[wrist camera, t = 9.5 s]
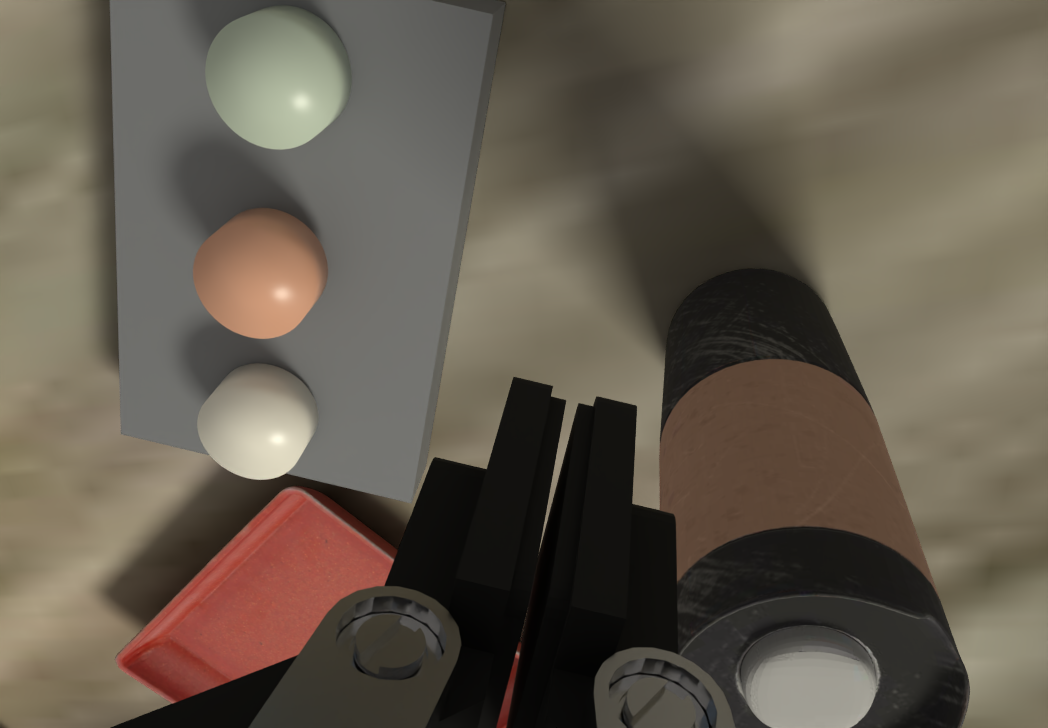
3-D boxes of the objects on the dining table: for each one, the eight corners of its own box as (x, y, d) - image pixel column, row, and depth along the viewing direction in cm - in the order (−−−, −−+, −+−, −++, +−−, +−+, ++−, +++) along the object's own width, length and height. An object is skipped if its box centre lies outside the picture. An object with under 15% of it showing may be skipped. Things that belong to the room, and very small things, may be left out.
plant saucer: (574, 647, 51) (568, 694, 48) (376, 784, 59) (361, 832, 56) (312, 442, 47) (289, 481, 44) (137, 620, 55) (107, 663, 52)
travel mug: (643, 399, 43) (628, 771, 26) (683, 244, 39) (698, 558, 22) (809, 433, 43) (908, 833, 25) (866, 281, 39) (1028, 628, 22)
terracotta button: (218, 195, 37) (193, 214, 35) (333, 222, 37) (314, 243, 35) (215, 300, 39) (192, 323, 37) (323, 325, 39) (305, 350, 37)
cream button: (220, 352, 41) (198, 377, 39) (322, 376, 41) (305, 402, 39) (216, 438, 43) (196, 465, 41) (314, 461, 43) (297, 490, 41)
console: (148, -79, 36) (107, -73, 33) (505, 2, 36) (493, 14, 33) (151, 401, 47) (121, 434, 44) (425, 466, 46) (411, 503, 44)
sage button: (233, -8, 34) (206, 1, 32) (357, 20, 34) (339, 31, 32) (228, 118, 36) (203, 133, 34) (345, 145, 36) (327, 162, 34)
